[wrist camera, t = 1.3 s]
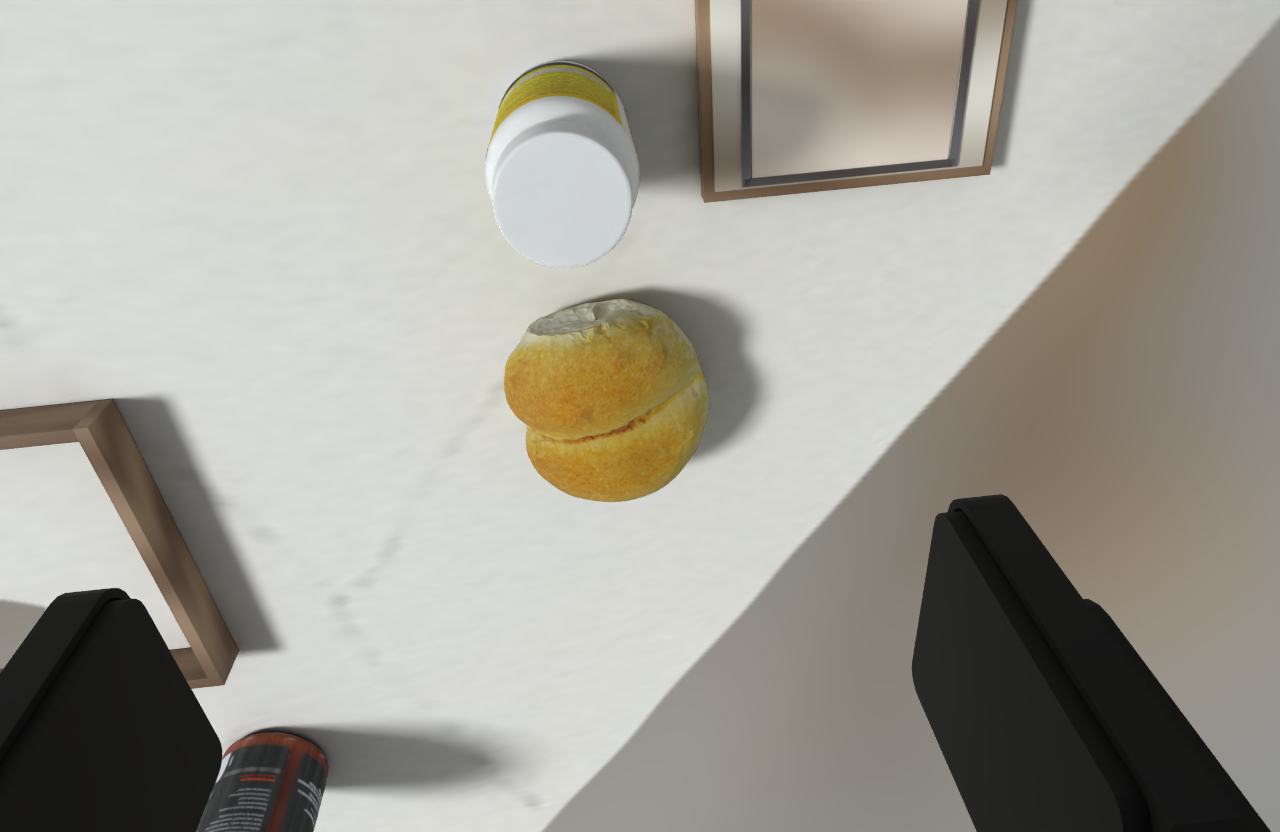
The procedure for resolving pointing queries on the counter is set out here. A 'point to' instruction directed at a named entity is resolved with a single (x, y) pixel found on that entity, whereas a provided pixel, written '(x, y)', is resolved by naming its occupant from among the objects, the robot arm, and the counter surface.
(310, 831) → the supplement bottle
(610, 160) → the supplement bottle
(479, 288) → the counter surface
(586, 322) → the bread roll
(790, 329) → the counter surface
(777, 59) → the brown double tray
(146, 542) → the frame
